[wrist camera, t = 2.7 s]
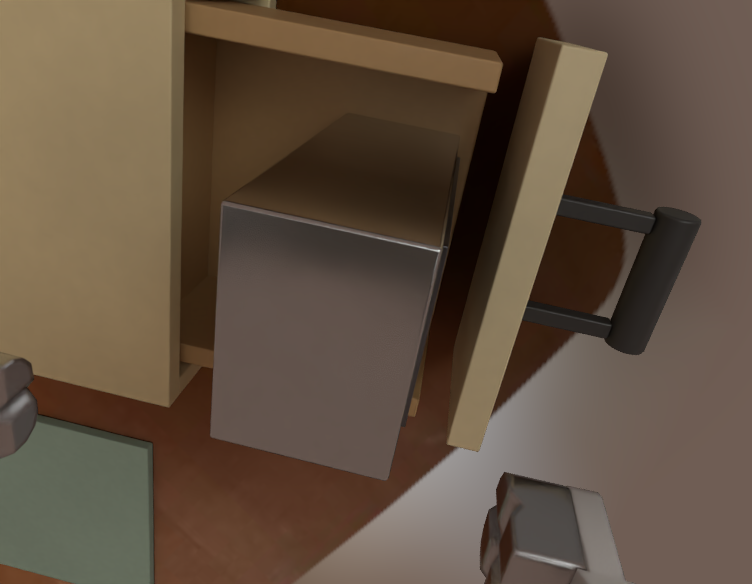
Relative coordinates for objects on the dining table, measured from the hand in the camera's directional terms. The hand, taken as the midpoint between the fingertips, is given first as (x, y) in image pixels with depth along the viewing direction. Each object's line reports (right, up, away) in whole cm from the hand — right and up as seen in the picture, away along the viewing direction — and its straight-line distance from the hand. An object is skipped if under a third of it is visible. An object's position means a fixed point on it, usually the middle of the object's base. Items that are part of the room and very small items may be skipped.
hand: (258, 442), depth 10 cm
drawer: (+4, +7, +14) cm, 16 cm away
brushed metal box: (+2, +6, +13) cm, 15 cm away
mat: (-22, -10, +28) cm, 37 cm away
